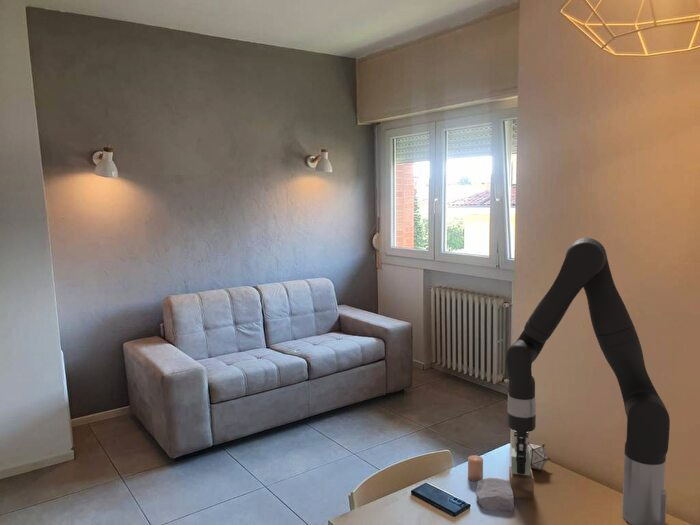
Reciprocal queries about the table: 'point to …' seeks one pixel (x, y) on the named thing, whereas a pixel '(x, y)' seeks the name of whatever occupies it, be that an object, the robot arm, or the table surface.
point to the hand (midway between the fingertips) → (521, 468)
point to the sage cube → (514, 463)
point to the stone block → (495, 494)
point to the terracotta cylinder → (475, 468)
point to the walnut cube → (522, 485)
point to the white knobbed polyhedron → (537, 456)
